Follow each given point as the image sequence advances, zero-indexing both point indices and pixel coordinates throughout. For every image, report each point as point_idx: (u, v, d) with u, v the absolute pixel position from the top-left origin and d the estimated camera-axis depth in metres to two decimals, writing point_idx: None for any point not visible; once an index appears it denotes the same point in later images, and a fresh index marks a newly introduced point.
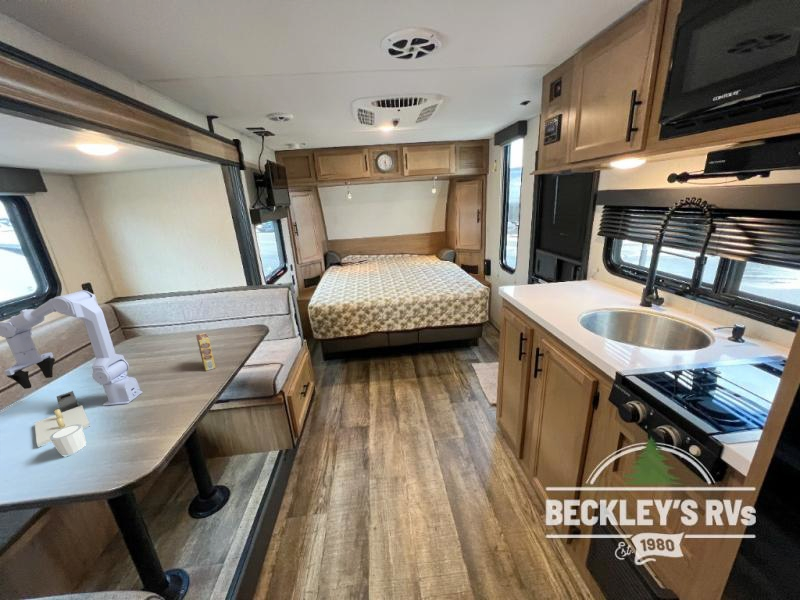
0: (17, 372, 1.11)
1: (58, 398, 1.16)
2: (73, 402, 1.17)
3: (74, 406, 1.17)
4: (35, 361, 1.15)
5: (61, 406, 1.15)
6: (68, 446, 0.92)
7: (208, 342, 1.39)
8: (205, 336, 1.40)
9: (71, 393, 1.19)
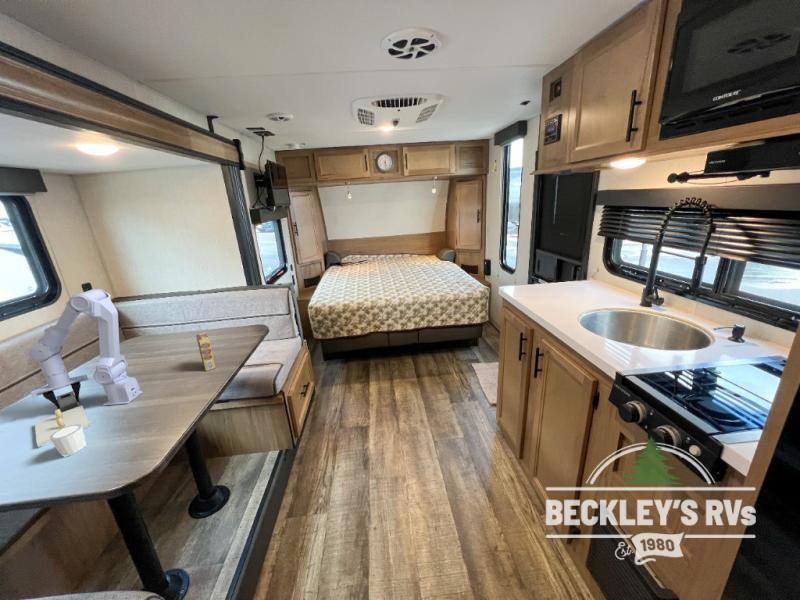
0: None
1: (58, 398, 1.16)
2: (73, 402, 1.17)
3: (74, 406, 1.17)
4: (58, 386, 1.13)
5: (61, 406, 1.15)
6: (68, 446, 0.92)
7: (208, 342, 1.39)
8: (205, 336, 1.40)
9: (71, 393, 1.19)
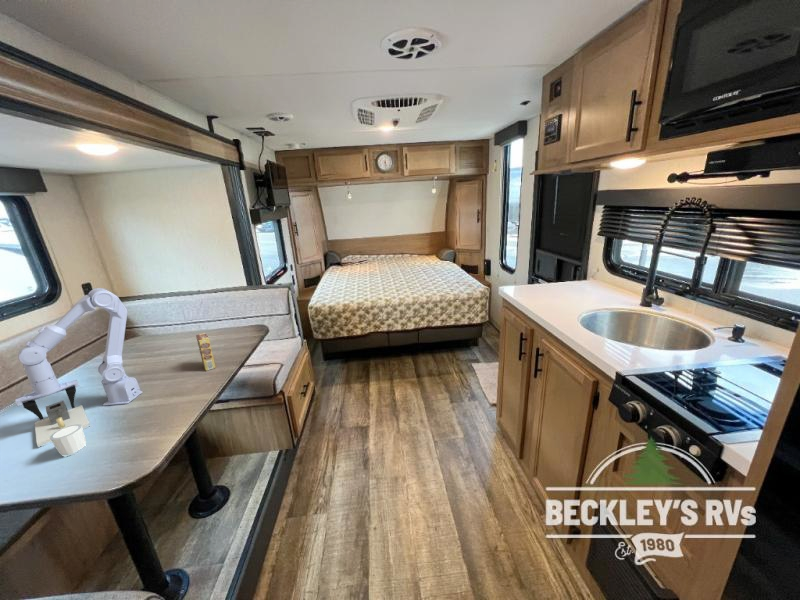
0: (26, 403, 1.02)
1: (47, 408, 1.07)
2: (63, 413, 1.08)
3: (64, 417, 1.08)
4: (45, 393, 1.04)
5: (50, 417, 1.05)
6: (68, 446, 0.92)
7: (208, 342, 1.39)
8: (205, 336, 1.40)
9: (61, 403, 1.10)
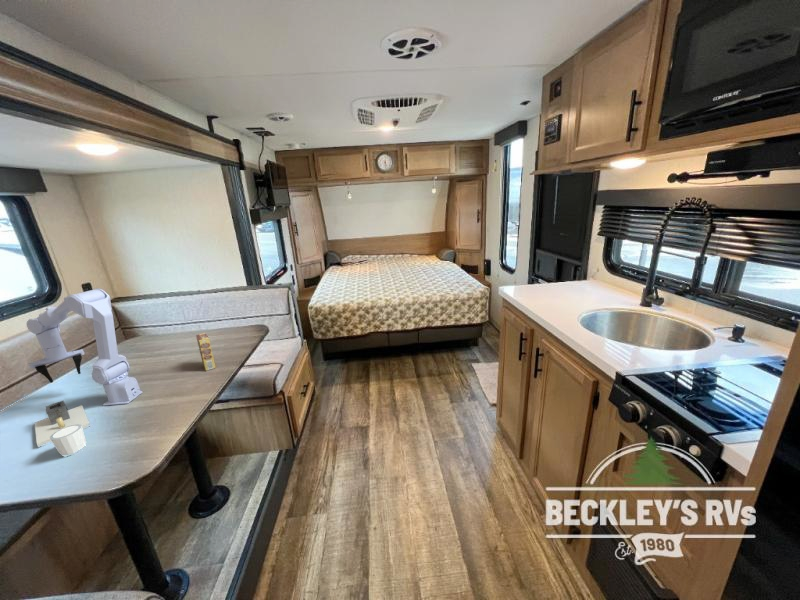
0: (38, 367, 1.16)
1: (47, 408, 1.07)
2: (63, 413, 1.08)
3: (64, 417, 1.08)
4: (55, 359, 1.18)
5: (50, 417, 1.05)
6: (68, 446, 0.92)
7: (208, 342, 1.39)
8: (205, 336, 1.40)
9: (61, 403, 1.10)
